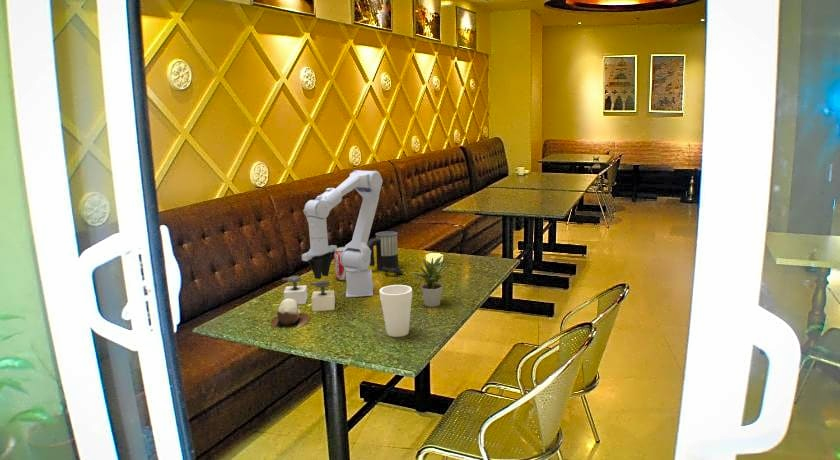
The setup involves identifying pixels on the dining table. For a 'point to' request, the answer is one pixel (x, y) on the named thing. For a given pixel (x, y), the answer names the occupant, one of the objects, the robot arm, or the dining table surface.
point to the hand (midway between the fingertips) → (321, 277)
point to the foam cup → (396, 308)
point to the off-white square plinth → (323, 301)
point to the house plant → (431, 282)
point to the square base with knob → (296, 294)
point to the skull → (289, 315)
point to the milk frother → (385, 251)
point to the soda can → (339, 265)
